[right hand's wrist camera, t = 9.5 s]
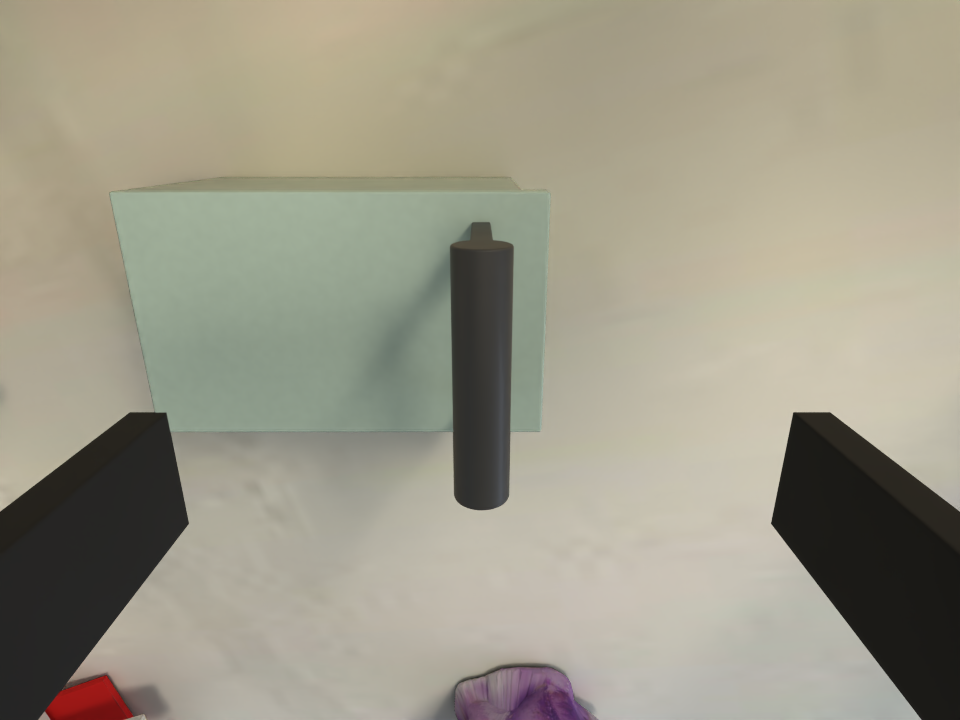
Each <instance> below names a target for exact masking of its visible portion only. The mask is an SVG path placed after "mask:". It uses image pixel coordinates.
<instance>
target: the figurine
mask: <svg viewBox="0 0 960 720" xmlns="http://www.w3.org/2000/svg"><path fill="white" fill-rule="evenodd" d="M455 695H456V696H455V697H456V698H455V706H454V707H455V710H454V711H455V713H456V716H457V719H458V720H598V719H597V718H596V717H595V716H594V715H592V714H591V713H590V712H589V711H588V710H586V709H585V708H583V707H582V706H581V705H579V704H578V703H577V702H576V701H575V700H574V697H573V691H572V687H571V683H570V681H569V679H568V678H567V677H566V676H565V675H564V674H562V673H560V672H558V671H557V670H555V669H553V668H549V667H542V668H537V667H513V668H505V669H503V668H501V669H499V670H498V671H495V672H492V673H490V674H488V675H486V676H485V677H480V678H474V679H469V680H467V681H464V682H461V683H459V684H458V686H457V688H456V690H455Z"/></svg>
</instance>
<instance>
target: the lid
mask: <svg viewBox="0 0 960 720" xmlns="http://www.w3.org/2000/svg"><path fill="white" fill-rule="evenodd" d="M109 195H110V199H111V204H112V209H113V214H114V219H115V223H116V228H117V233H118V238H119V242H120V247H121V252H122V257H123V262H124V266H125V271H126V276H127V281H128V286H129V290H130V295H131V300H132V305H133V310H134V314H135V319H136V324H137V329H138V334H139V338H140V343H141V348H142V353H143V358H144V362H145V367H146V372H147V377H148V382H149V386H150V391H151V396H152V401H153V406H154V410H155V412H167V417H168V422H169V427H170V432H453V458H454V496H455V499H456V500H457V502H458V503H459V504H461V505H462V506H464V507H467V508H470V509H474V510H489V509H494V508H497V507H499V506H501V505H503V504H504V503H505V502H506V501H507V499H508V497H509V472H510V432H540V431H541V424H542V399H543V374H544V349H545V324H546V299H547V274H548V248H549V223H550V198H551V194H550V192H549V191H547V190H120V191H112V192H110V194H109Z"/></svg>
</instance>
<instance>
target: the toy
mask: <svg viewBox="0 0 960 720" xmlns="http://www.w3.org/2000/svg"><path fill="white" fill-rule="evenodd" d="M38 720H147V719H146V717H145V715H144V714H141V715H138V716H135V717H134V716H133V715H132V713H131V712H130V710H129V709H128V707H127V706H126V704H125V703H124V701H123V700H122V698H121V697H120V695H119V694H118V692H117V691H116V689H115V688H114V686H113V685H112V683H111V682H110V680H109V679H108V677H107V676H106V675H105V676H102V677H99V678H97V679H94V680H91V681H88V682H85V683H82V684H79V685H77V686H74V687H71V688H68V689H65V690H62V691H60V692H59V693H58V695H57V696H56V697H55V699H54V700H53V701H52V702H51V704H50V705H49V706H48V708H47V709H46V710H45V712H44V713H43V714H42V716H41V717H40V718H39V719H38Z"/></svg>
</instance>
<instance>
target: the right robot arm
mask: <svg viewBox="0 0 960 720" xmlns="http://www.w3.org/2000/svg"><path fill="white" fill-rule="evenodd" d="M188 524H189V522H188V517H187V512H186V507H185V502H184V497H183V492H182V487H181V482H180V477H179V472H178V467H177V462H176V457H175V452H174V447H173V442H172V437H171V432H170V427H169V422H168V417H167V412H130V413H129V414H127V415H126V416H125V417H123V418H122V419H121V420H119V421H118V422H117V423H116V424H114V425H113V426H112V427H110V428H109V429H108V430H106V431H105V432H104V433H102V434H101V435H100V436H99V437H97V438H96V439H95V440H93V441H92V442H91V443H89V444H88V445H87V446H86V447H84V448H83V449H82V450H80V451H79V452H78V453H76V454H75V455H74V456H72V457H71V458H70V459H69V460H67V461H66V462H65V463H63V464H62V465H61V466H59V467H58V468H57V469H55V470H54V471H53V472H52V473H50V474H49V475H48V476H46V477H45V478H44V479H42V480H41V481H40V482H38V483H37V484H36V485H35V486H33V487H32V488H31V489H29V490H28V491H27V492H25V493H24V494H23V495H21V496H20V497H19V498H18V499H16V500H15V501H14V502H12V503H11V504H10V505H8V506H7V507H6V508H5V509H3V510H2V511H1V512H0V720H38V719H39V718H40V717H41V716H42V714H43V713H44V712H45V710H46V709H47V708H48V706H49V705H50V704H51V702H52V701H53V700H54V699H55V697H56V696H57V695H58V693H59V692H60V691H61V689H62V688H63V687H64V686H65V684H66V683H67V682H68V680H69V679H70V678H71V676H72V675H73V674H74V673H75V671H76V670H77V669H78V667H79V666H80V665H81V663H82V662H83V661H84V660H85V658H86V657H87V656H88V654H89V653H90V652H91V650H92V649H93V648H94V647H95V645H96V644H97V643H98V641H99V640H100V639H101V637H102V636H103V635H104V633H105V632H106V631H107V630H108V628H109V627H110V626H111V624H112V623H113V622H114V620H115V619H116V618H117V617H118V615H119V614H120V613H121V611H122V610H123V609H124V607H125V606H126V605H127V604H128V602H129V601H130V600H131V598H132V597H133V596H134V594H135V593H136V592H137V591H138V589H139V588H140V587H141V585H142V584H143V583H144V581H145V580H146V579H147V577H148V576H149V575H150V574H151V572H152V571H153V570H154V568H155V567H156V566H157V564H158V563H159V562H160V561H161V559H162V558H163V557H164V555H165V554H166V553H167V551H168V550H169V549H170V548H171V546H172V545H173V544H174V542H175V541H176V540H177V538H178V537H179V536H180V535H181V533H182V532H183V531H184V529H185V528H186V527H187V525H188ZM771 524H772V525H773V527H774V528H775V529H776V531H777V532H778V533H779V535H780V536H781V537H782V538H783V540H784V541H785V542H786V544H787V545H788V546H789V548H790V549H791V550H792V551H793V553H794V554H795V555H796V557H797V558H798V559H799V561H800V562H801V563H802V564H803V566H804V567H805V568H806V570H807V571H808V572H809V574H810V575H811V576H812V577H813V579H814V580H815V581H816V583H817V584H818V585H819V587H820V588H821V589H822V591H823V592H824V593H825V594H826V596H827V597H828V598H829V600H830V601H831V602H832V604H833V605H834V606H835V607H836V609H837V610H838V611H839V613H840V614H841V615H842V617H843V618H844V619H845V620H846V622H847V623H848V624H849V626H850V627H851V628H852V630H853V631H854V632H855V633H856V635H857V636H858V637H859V639H860V640H861V641H862V643H863V644H864V645H865V647H866V648H867V649H868V650H869V652H870V653H871V654H872V656H873V657H874V658H875V660H876V661H877V662H878V663H879V665H880V666H881V667H882V669H883V670H884V671H885V673H886V674H887V675H888V676H889V678H890V679H891V680H892V682H893V683H894V684H895V686H896V687H897V688H898V689H899V691H900V692H901V693H902V695H903V696H904V697H905V699H906V700H907V701H908V702H909V704H910V705H911V706H912V708H913V709H914V710H915V712H916V713H917V714H918V716H919V717H920V718H921V719H922V720H960V512H959V511H958V510H957V509H955V508H954V507H953V506H952V505H950V504H949V503H948V502H946V501H945V500H944V499H942V498H941V497H940V496H939V495H937V494H936V493H935V492H933V491H932V490H931V489H929V488H928V487H927V486H925V485H924V484H923V483H922V482H920V481H919V480H918V479H916V478H915V477H914V476H912V475H911V474H910V473H908V472H907V471H906V470H905V469H903V468H902V467H901V466H899V465H898V464H897V463H895V462H894V461H893V460H891V459H890V458H889V457H888V456H886V455H885V454H884V453H882V452H881V451H880V450H878V449H877V448H876V447H874V446H873V445H872V444H871V443H869V442H868V441H867V440H865V439H864V438H863V437H861V436H860V435H859V434H858V433H856V432H855V431H854V430H852V429H851V428H850V427H848V426H847V425H846V424H844V423H843V422H842V421H841V420H839V419H838V418H837V417H835V416H834V415H833V414H831V413H830V412H793V417H792V422H791V427H790V432H789V437H788V442H787V447H786V452H785V457H784V462H783V467H782V472H781V477H780V482H779V487H778V492H777V497H776V502H775V507H774V512H773V517H772V522H771Z"/></svg>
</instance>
